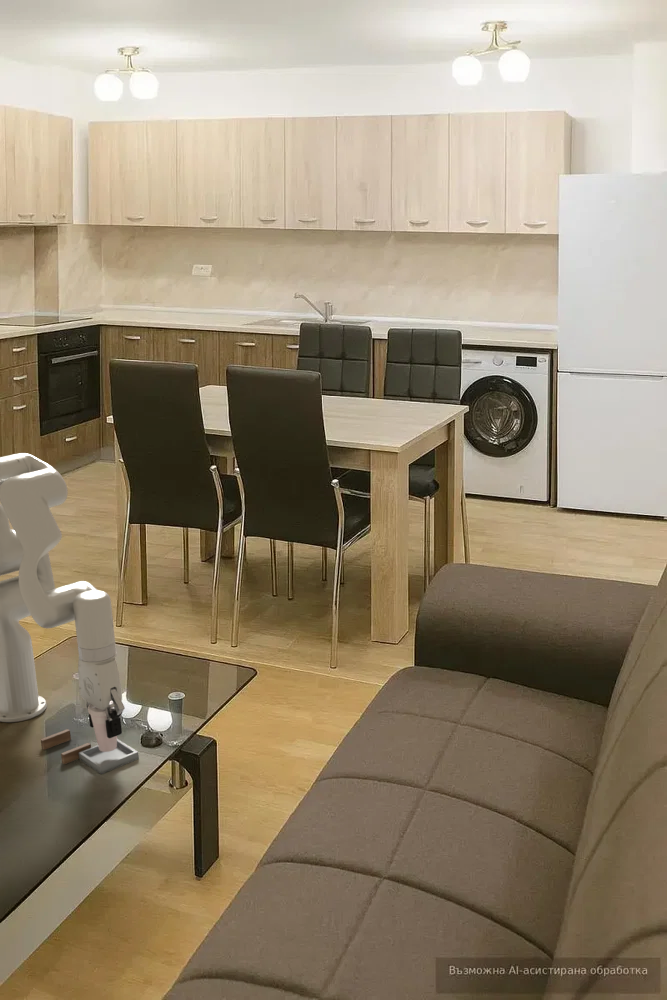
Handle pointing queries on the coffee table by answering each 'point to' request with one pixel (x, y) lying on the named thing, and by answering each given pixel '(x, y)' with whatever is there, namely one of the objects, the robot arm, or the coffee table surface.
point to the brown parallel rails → (62, 738)
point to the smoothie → (102, 728)
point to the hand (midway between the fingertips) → (105, 729)
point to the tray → (108, 757)
